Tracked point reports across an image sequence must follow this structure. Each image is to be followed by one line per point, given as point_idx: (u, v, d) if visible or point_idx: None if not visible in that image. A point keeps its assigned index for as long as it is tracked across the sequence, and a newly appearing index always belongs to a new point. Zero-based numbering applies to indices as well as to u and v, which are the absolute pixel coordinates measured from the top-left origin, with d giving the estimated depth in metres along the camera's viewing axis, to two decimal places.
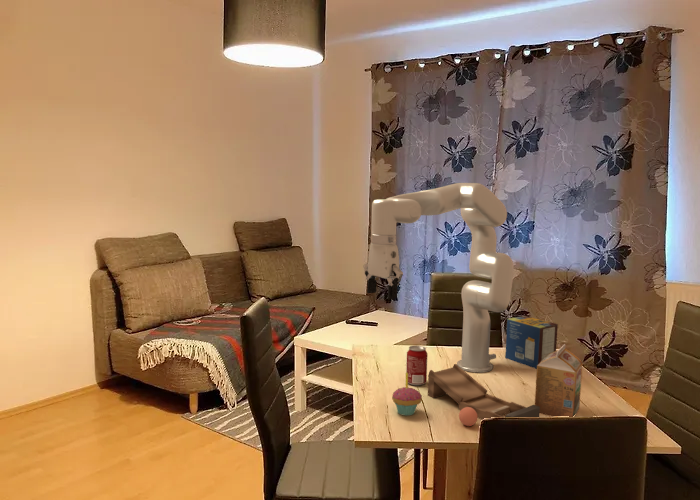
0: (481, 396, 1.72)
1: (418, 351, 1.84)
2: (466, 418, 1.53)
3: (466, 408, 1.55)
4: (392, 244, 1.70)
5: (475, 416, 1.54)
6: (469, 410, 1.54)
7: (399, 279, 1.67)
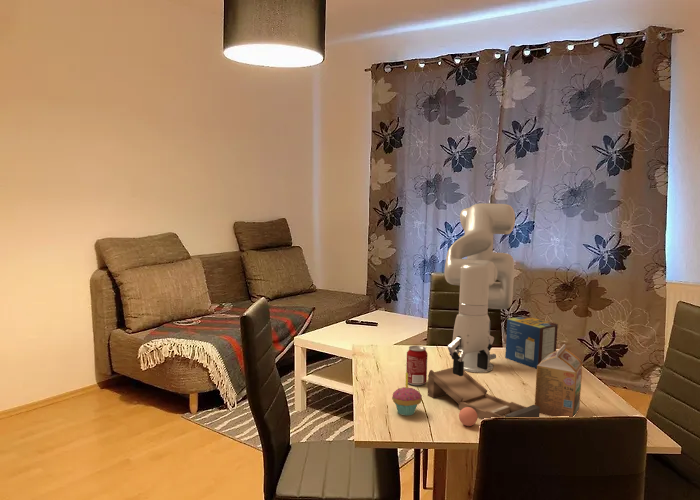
0: (481, 396, 1.72)
1: (418, 351, 1.84)
2: (466, 418, 1.53)
3: (466, 408, 1.55)
4: None
5: (475, 416, 1.54)
6: (469, 410, 1.54)
7: None
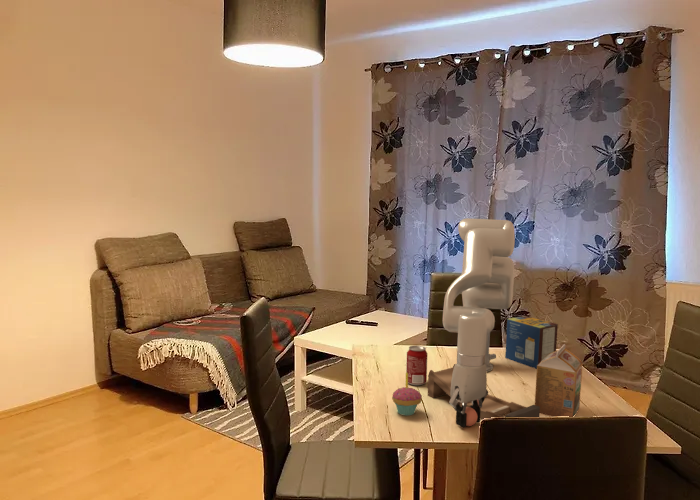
0: None
1: (418, 351, 1.84)
2: (466, 418, 1.53)
3: (466, 408, 1.55)
4: None
5: (475, 416, 1.54)
6: (469, 410, 1.54)
7: None
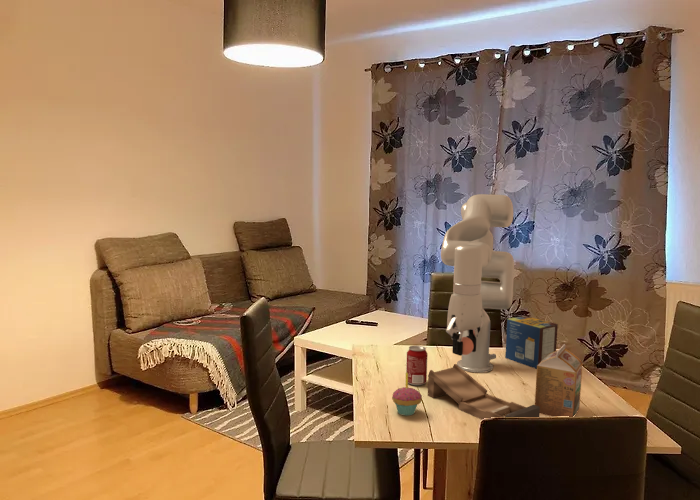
0: (481, 396, 1.72)
1: (418, 351, 1.84)
2: None
3: (462, 337, 1.59)
4: None
5: (471, 345, 1.58)
6: (466, 339, 1.59)
7: None
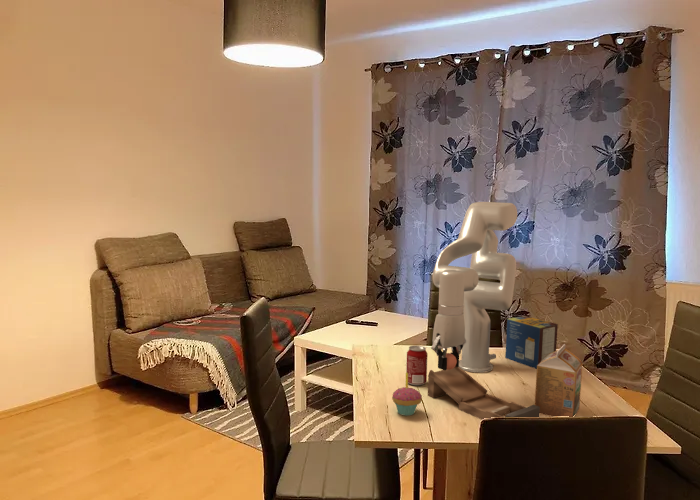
0: (481, 396, 1.72)
1: (418, 351, 1.84)
2: None
3: (447, 353, 1.76)
4: None
5: (454, 360, 1.75)
6: (449, 355, 1.75)
7: None
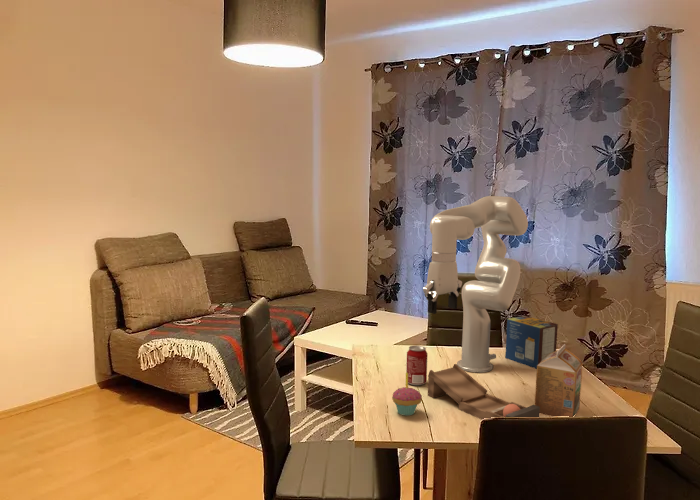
0: (481, 396, 1.72)
1: (418, 351, 1.84)
2: None
3: None
4: None
5: None
6: None
7: None
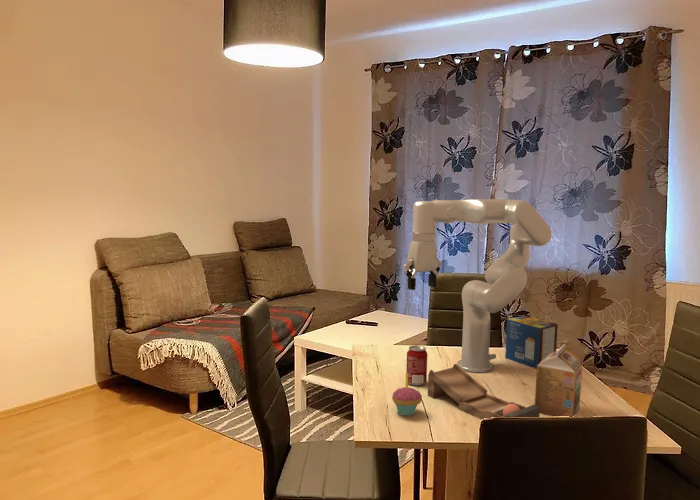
0: (481, 396, 1.72)
1: (418, 351, 1.84)
2: None
3: None
4: None
5: None
6: None
7: None
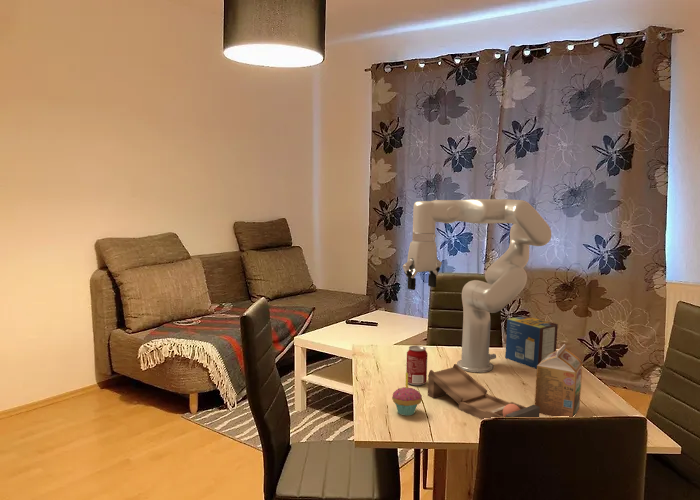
0: (481, 396, 1.72)
1: (418, 351, 1.84)
2: None
3: None
4: None
5: None
6: None
7: None
